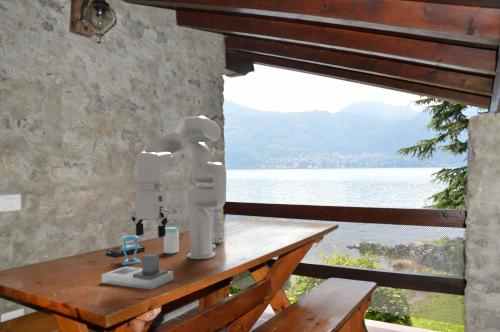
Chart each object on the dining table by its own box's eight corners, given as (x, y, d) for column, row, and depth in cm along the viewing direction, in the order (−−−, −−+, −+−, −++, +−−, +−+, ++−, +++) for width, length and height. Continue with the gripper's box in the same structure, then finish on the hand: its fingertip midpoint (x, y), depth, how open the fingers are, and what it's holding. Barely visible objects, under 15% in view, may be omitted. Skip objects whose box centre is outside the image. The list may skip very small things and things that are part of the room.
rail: (125, 274, 148) (125, 266, 148) (173, 279, 138) (172, 271, 138) (101, 282, 137) (101, 274, 137) (151, 289, 128) (151, 280, 128)
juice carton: (224, 240, 211) (223, 196, 211) (222, 243, 203) (221, 198, 203) (207, 240, 212) (206, 197, 212) (204, 243, 204) (203, 198, 204)
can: (175, 254, 180) (174, 228, 180) (161, 254, 181) (160, 228, 181) (181, 251, 187) (180, 226, 187) (167, 251, 188) (167, 226, 188)
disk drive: (117, 258, 177) (145, 252, 188) (117, 252, 177) (145, 246, 188) (106, 255, 184) (133, 249, 195) (106, 249, 184) (133, 244, 195)
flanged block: (149, 277, 141) (148, 251, 141) (168, 279, 137) (167, 253, 137) (133, 284, 133) (132, 256, 133) (152, 286, 130) (152, 258, 130)
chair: (139, 259, 173) (138, 232, 173) (141, 263, 165) (140, 235, 165) (121, 261, 170) (120, 233, 170) (122, 265, 162) (121, 236, 162)
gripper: (175, 186, 135) (177, 235, 135) (137, 186, 142) (138, 232, 143) (162, 188, 128) (164, 239, 129) (122, 188, 136) (124, 236, 136)
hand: (150, 236), depth 136 cm, fingers open, 9 cm apart
